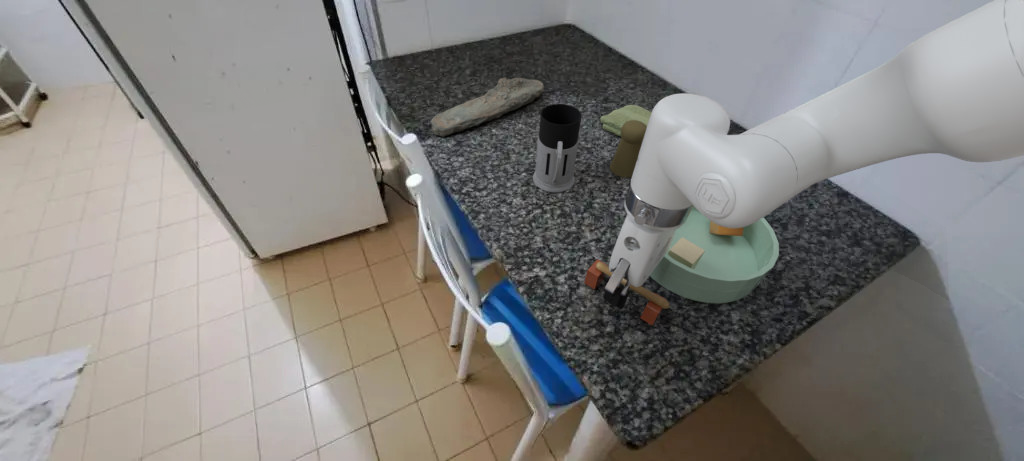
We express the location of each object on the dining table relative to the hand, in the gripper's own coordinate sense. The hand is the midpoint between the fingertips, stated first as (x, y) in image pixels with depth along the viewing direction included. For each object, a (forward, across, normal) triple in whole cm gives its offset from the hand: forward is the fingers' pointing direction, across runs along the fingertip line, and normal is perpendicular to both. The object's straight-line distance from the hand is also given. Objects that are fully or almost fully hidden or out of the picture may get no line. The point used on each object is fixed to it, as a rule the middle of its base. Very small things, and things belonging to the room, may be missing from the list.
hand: (625, 286), depth 59 cm
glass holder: (+3, +15, +24) cm, 28 cm away
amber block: (+1, +22, -8) cm, 23 cm away
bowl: (+3, +17, -5) cm, 18 cm away
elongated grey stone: (+3, +29, +54) cm, 61 cm away
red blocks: (+3, 0, 0) cm, 3 cm away
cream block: (+2, +11, -4) cm, 12 cm away
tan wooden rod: (-1, 0, -1) cm, 1 cm away
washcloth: (+3, +46, +20) cm, 50 cm away
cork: (+3, +30, +16) cm, 34 cm away
